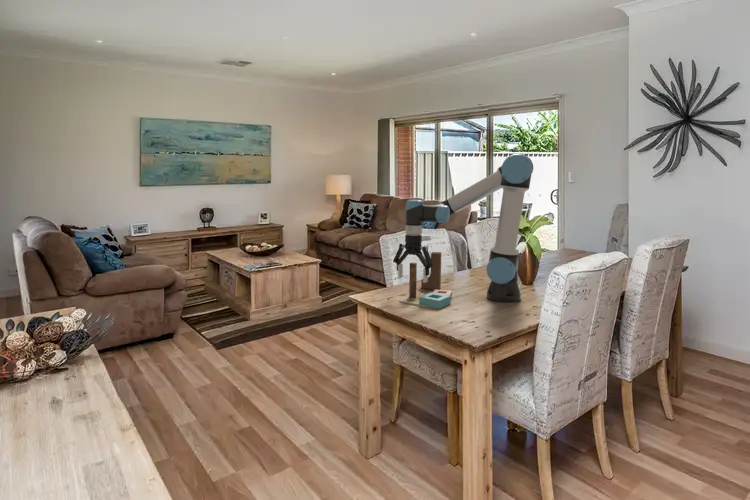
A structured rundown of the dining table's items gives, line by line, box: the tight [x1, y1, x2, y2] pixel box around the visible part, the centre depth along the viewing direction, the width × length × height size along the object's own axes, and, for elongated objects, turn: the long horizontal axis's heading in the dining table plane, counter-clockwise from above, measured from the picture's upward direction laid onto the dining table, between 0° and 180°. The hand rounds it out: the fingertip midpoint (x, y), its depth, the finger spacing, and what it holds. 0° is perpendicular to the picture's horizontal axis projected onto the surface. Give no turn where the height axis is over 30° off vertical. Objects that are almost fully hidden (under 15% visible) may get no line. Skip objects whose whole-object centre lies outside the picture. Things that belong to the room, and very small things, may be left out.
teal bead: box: [418, 292, 452, 309], centre depth 216 cm, size 10×10×4 cm
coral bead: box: [432, 289, 453, 299], centre depth 225 cm, size 8×8×3 cm
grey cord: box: [398, 299, 427, 308], centre depth 216 cm, size 14×1×1 cm, turn 54°
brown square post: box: [408, 262, 418, 299], centre depth 226 cm, size 3×3×16 cm
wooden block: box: [420, 251, 442, 290], centre depth 243 cm, size 9×4×18 cm, turn 74°
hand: (412, 280), depth 226 cm, fingers open, 13 cm apart
